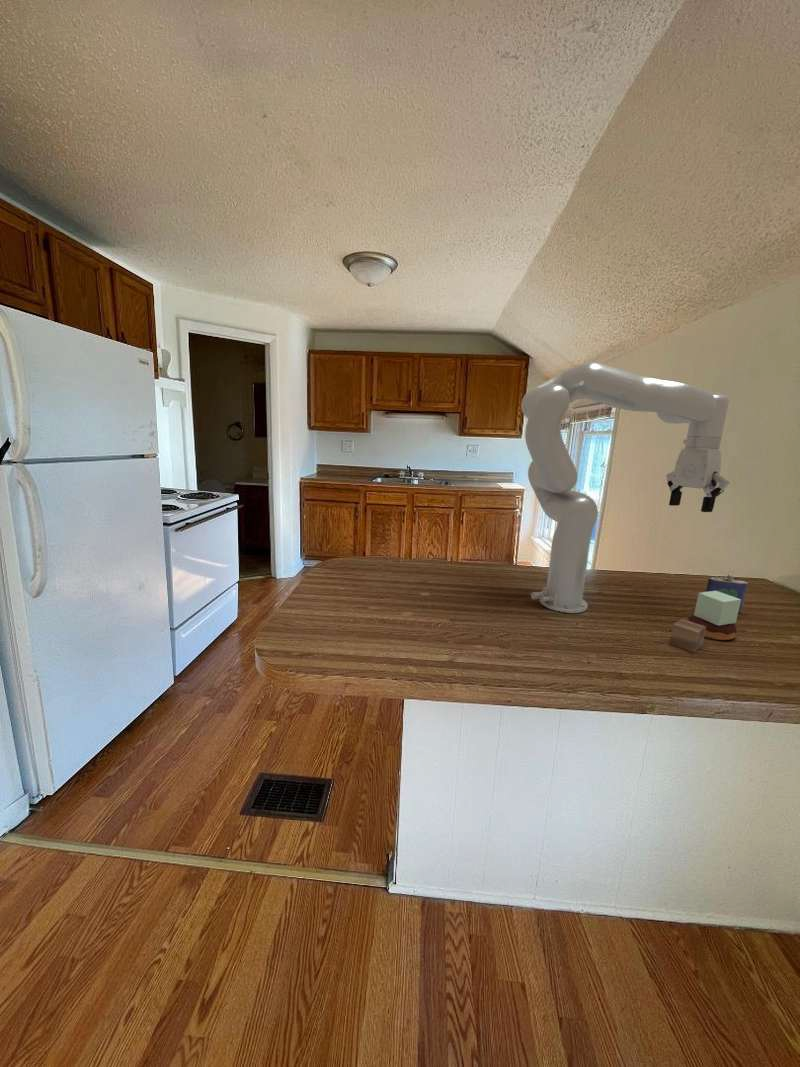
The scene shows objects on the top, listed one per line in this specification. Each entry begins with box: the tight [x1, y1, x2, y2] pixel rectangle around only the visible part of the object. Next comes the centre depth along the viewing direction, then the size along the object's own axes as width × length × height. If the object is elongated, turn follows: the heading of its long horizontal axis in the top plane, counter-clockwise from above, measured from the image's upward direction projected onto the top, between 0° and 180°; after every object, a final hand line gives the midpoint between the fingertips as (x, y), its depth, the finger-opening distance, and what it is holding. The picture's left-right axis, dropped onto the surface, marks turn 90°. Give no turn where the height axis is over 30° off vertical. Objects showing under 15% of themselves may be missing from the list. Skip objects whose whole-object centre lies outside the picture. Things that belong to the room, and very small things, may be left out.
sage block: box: [693, 591, 741, 626], centre depth 104 cm, size 6×6×6 cm
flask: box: [705, 573, 749, 615], centre depth 118 cm, size 9×3×11 cm, turn 74°
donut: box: [687, 613, 737, 641], centre depth 105 cm, size 10×10×4 cm
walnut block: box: [669, 618, 706, 653], centre depth 98 cm, size 5×5×5 cm
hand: (689, 508), depth 116 cm, fingers open, 9 cm apart
